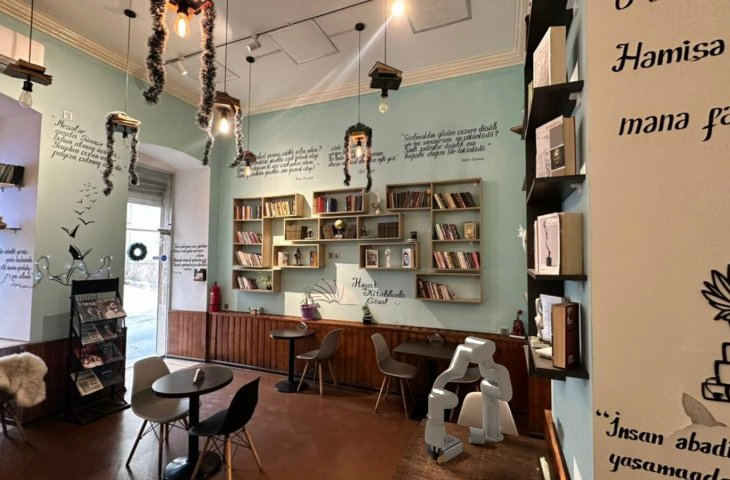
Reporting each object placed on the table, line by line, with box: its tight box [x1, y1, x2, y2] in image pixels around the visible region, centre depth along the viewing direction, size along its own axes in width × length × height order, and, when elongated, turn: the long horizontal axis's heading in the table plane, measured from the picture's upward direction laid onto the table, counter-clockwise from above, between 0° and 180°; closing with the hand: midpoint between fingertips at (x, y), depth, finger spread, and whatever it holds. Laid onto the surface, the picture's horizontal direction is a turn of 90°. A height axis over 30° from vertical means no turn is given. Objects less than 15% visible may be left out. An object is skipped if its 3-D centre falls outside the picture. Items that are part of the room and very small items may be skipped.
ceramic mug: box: [468, 426, 487, 445], centre depth 183 cm, size 11×8×8 cm
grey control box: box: [426, 433, 462, 458], centre depth 170 cm, size 17×10×6 cm, turn 131°
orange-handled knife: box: [437, 441, 464, 464], centre depth 165 cm, size 20×1×4 cm, turn 131°
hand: (435, 459), depth 161 cm, fingers closed
